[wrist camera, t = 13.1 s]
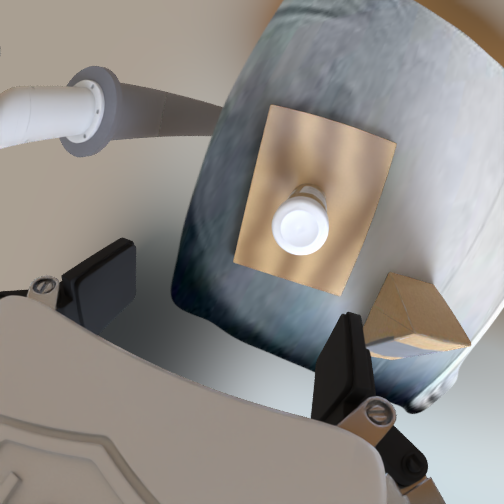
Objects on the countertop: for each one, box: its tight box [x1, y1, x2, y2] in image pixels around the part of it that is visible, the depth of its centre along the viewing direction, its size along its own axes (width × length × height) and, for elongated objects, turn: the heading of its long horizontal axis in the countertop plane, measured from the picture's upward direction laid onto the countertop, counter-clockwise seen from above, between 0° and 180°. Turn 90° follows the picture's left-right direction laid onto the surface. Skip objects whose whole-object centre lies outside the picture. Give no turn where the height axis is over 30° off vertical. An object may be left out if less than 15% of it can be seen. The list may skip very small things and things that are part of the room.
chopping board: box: [233, 104, 397, 296], centre depth 34 cm, size 16×22×2 cm
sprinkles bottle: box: [272, 183, 329, 255], centre depth 27 cm, size 5×5×13 cm
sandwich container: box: [363, 272, 471, 360], centre depth 31 cm, size 9×15×15 cm, turn 169°
